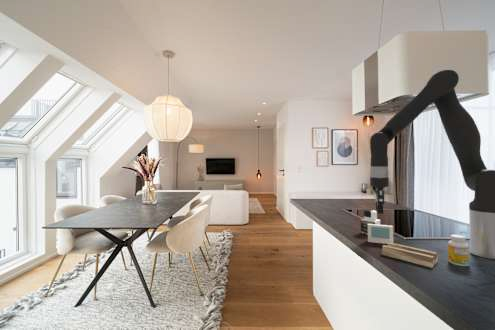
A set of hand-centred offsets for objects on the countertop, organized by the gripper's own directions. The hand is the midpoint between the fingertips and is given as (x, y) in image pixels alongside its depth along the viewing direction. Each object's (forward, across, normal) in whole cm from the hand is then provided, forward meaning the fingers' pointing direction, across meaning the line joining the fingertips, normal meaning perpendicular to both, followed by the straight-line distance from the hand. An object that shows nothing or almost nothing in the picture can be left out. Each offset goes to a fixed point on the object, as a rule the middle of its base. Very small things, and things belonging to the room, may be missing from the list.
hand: (379, 211), depth 106 cm
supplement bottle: (+14, +15, +23) cm, 31 cm away
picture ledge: (+14, +16, +8) cm, 23 cm away
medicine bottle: (+14, -15, -3) cm, 21 cm away
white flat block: (+14, 0, 0) cm, 14 cm away
